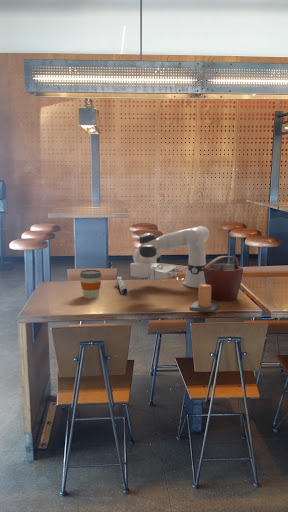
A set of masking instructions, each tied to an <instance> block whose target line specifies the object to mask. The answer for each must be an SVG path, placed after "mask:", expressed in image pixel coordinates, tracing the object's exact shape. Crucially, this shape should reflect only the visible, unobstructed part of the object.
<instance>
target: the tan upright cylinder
mask: <svg viewBox="0 0 288 512" xmlns="http://www.w3.org/2000/svg"><path fill="white" fill-rule="evenodd" d="M197 295H198V296H197V301H198V305H199V306H201V307H209V306H210V305H211V303H212V299H211V285H208V284H201V285H199V287H198V293H197Z"/></svg>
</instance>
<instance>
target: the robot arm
mask: <svg viewBox="0 0 288 512" xmlns="http://www.w3.org/2000/svg"><path fill="white" fill-rule="evenodd" d="M138 238H139V244H140V245H139V247H138V248H136V249H135V250H134V251H133V254H132V259H133V262H131V263H130V264H129V274H130V276H131V277H134V278H138V279H150V280H151V281H155V280H167V279H168V278H170V277H178V275H179V274H181V273H183V271H184V270H183V268H182V269H181V268H178V266H177V265H162V264H161V262H162V255H161V251H170V250H175V249H180V248H184V247H187V250H188V264H187V270H186V272H185V277H184V281H183V282H182V285H184V286H186V287H189V288H198V287H199V285H201V284H206V283H205V277H204V267H205V266H206V265H207V263H206V261H207V260H206V255H207V252H206V250H205V245H204V244H205V242H206V241H207V240H208V239H209V238H210V230H209V229H208V228H207V227H205V226H203V225H198V226H194V227H190V228H186V229H182V230H177V231H174V232H169V233H165V234H163V235H162V234H161V235H159V236H158V235H155V234H154V233H152V232H146V233H143V234H142V235H140V236H139V237H138Z"/></svg>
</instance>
